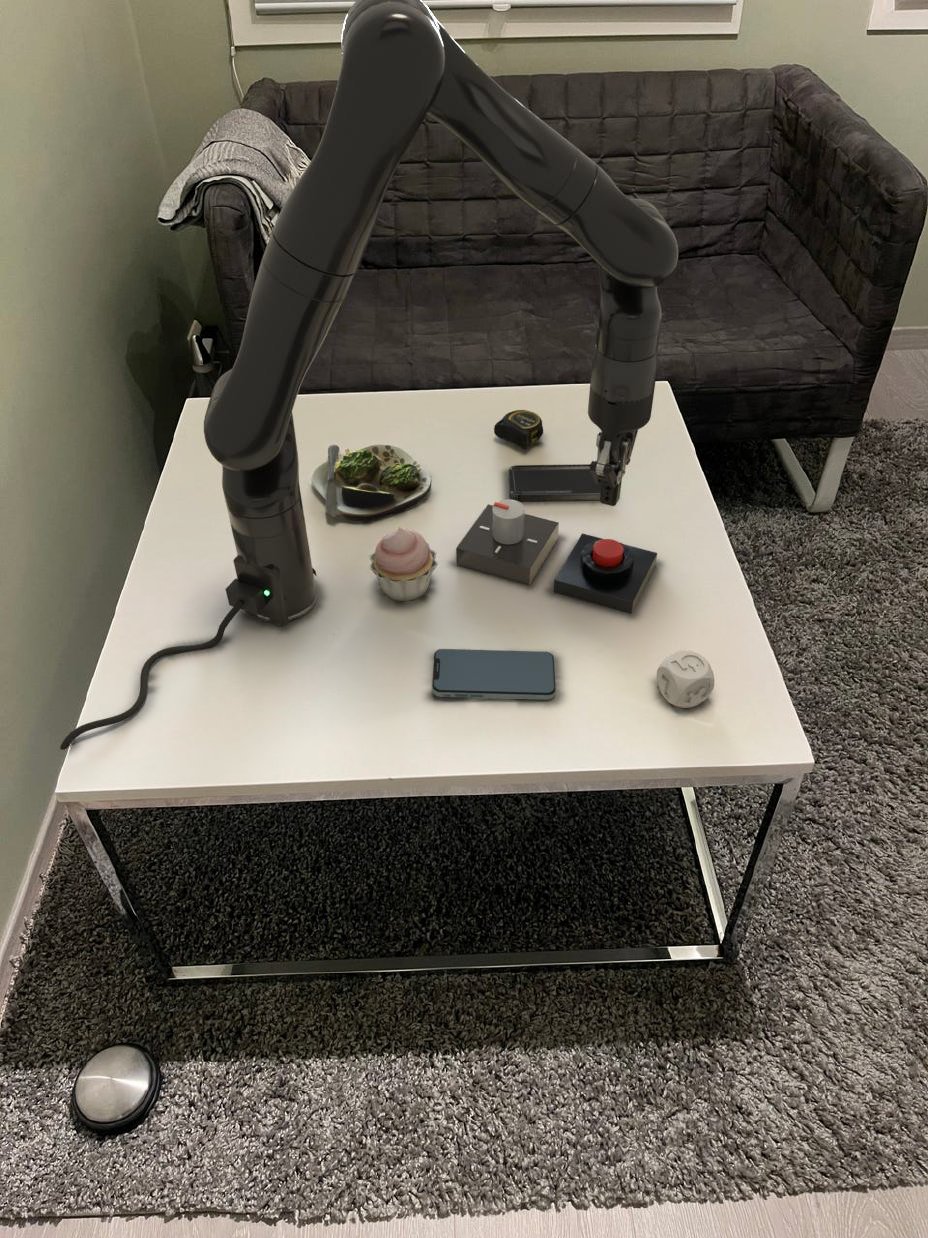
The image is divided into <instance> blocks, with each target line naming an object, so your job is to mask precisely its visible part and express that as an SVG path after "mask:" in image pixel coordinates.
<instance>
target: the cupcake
mask: <svg viewBox="0 0 928 1238" xmlns="http://www.w3.org/2000/svg"><path fill="white" fill-rule="evenodd" d="M437 555H438V554H437V552H436V551H435V550H433V549H431V548H430V544H429V542H427V541H426V538H425V537H424V536H423V534H421V533H420V532H419V531H416V530H415V529H410V528H403V527H398V528H397V529H394V530H391V531H388V532H386V533H385V534H383V537H382V539H380V540H379V542H378V543H377V544H376V547H375V551H374V552H373V553H371V554H369V555H368V557H369V559H370V561H371V563H370V564H369V566H368V568H369V570H371V572H372V573H373V574H374V575H375V577H376V578H377V581H378V582H379V585H380V587H381V590H382V592H383V593H384V594H385V595H386V596H387V597H388V598H390V599H392V600H394V601H399V602H410V601H414V600H417V599H419V598H421V597H422V596H423V595H424V594H425V593H426V592H427V590H428V588H429V585H430V582H431V578H432V575H433V573H434V571H435V570H436V568H437V567H438V565H439V563H438V561H437V560H436V557H437Z"/></svg>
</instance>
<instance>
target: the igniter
mask: <svg viewBox="0 0 928 1238" xmlns="http://www.w3.org/2000/svg"><path fill="white" fill-rule="evenodd" d="M577 539H578V540H577V541H576V542H575V544H574V546H573V548H572V550H571V551H570V553H569V554H568V556H567V558H566V560H565V561H564V563H563V565H562V566H561V568H560V569H559V572H558V573H557V575H556V576H555V578H554V580H553V593H556V594H559V595H563V596H568V597H570V598H573V599H577V600H581V601H584V602H587V603H592V604H594V605H598V606H602V607H606V608H609V609H612V610H617V611H620V612H623V613H627V614H630V615H631V614H633V612H634V610H635V608H636V605H638V604H637V603H638V601H639V599H640V597H641V595H642V594H643V591H644V589H645V587H646V586H647V583H648V581H649V579H650V577H651V575H652V574H653V571H654V569H655V567H656V565H657V558H658V552H656V551H652V550H648V549H643V548H640V547H637V546H632V545H629V544H625V543H623V542H620V541H618V542H619V543H620V544H621V545H622V546H623V558H622V562H621V563H620V564H619V565H617V566H615V567H604V566H600V565H598V564H596V563H595V562H594V560H593V547H594V544H595V543H596V542H597V541H599V540H602V539H603V538H602V537H598V536H594V535H591V534H586V533H581V534H580V536H579V538H577Z"/></svg>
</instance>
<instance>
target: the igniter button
mask: <svg viewBox="0 0 928 1238" xmlns="http://www.w3.org/2000/svg"><path fill="white" fill-rule="evenodd" d="M619 542H620V541H617V540H615V539H612V538H602V540H599V541H597V542H596V543H595V544H594V547H593V560H594V562H595V563H596V564H598V565H600V566H604V567H615V566H617V565H619V564H620V563H621V562H622V558H623V546H622V545H621V544H620V543H621V542H620V543H619Z"/></svg>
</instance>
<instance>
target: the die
mask: <svg viewBox="0 0 928 1238" xmlns="http://www.w3.org/2000/svg"><path fill="white" fill-rule="evenodd" d="M656 682H657V686H658V689H659V691H660V693H661V695H662V697H663V698H664V699H665V700H666V701H667V703H669V704H671V705H673V706H675V707H678V708H683V709H684V708H685V709H687V708H693V707H696V706H698V705H700V704H702V703H703V702H704V701H706V700H707V698H708V697H709V696H710V695H711V694H712V692H713V691H714V688H715V675H714V671H713V668H712V666H711V664H710V663H709V661H708V660H707V658H706V657H705V656H703V655H702V654H701V653H698V652H697V651H693V650H686V649H685V650H677V651H675V652H672V653H671V654H669V655H668V656H666V657H665V658H664V659H663V660H662V661H661V662H660V664H659V665H658V668H657V670H656Z"/></svg>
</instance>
